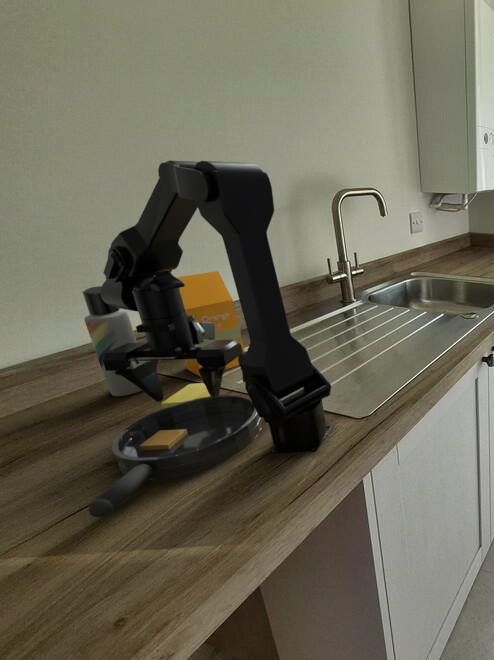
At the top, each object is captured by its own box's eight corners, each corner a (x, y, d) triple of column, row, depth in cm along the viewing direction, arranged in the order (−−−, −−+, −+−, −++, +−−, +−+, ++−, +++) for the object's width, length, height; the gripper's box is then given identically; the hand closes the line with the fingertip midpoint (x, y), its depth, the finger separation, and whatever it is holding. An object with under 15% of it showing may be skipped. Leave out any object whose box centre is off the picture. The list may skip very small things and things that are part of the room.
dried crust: (188, 433, 63) (186, 429, 63) (169, 449, 59) (167, 444, 59) (160, 434, 63) (159, 430, 63) (140, 450, 59) (138, 446, 59)
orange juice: (186, 368, 87) (159, 276, 80) (231, 354, 94) (210, 269, 87) (201, 377, 83) (175, 281, 76) (248, 362, 90) (227, 273, 83)
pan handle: (159, 474, 53) (154, 460, 52) (107, 521, 46) (101, 505, 45) (141, 475, 53) (136, 461, 52) (86, 522, 46) (79, 506, 45)
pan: (282, 410, 70) (278, 392, 69) (222, 478, 54) (216, 456, 53) (177, 415, 69) (171, 396, 68) (84, 486, 53) (74, 463, 52)
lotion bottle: (146, 379, 82) (115, 282, 76) (153, 388, 78) (121, 287, 72) (108, 390, 78) (71, 288, 71) (113, 400, 74) (76, 293, 68)
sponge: (193, 398, 75) (189, 383, 74) (219, 397, 75) (215, 382, 74) (165, 419, 68) (160, 403, 67) (193, 417, 68) (189, 402, 67)
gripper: (249, 299, 74) (266, 376, 79) (141, 302, 73) (165, 380, 78) (211, 318, 64) (233, 406, 69) (84, 322, 63) (116, 411, 68)
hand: (188, 399), depth 71 cm, fingers open, 9 cm apart
